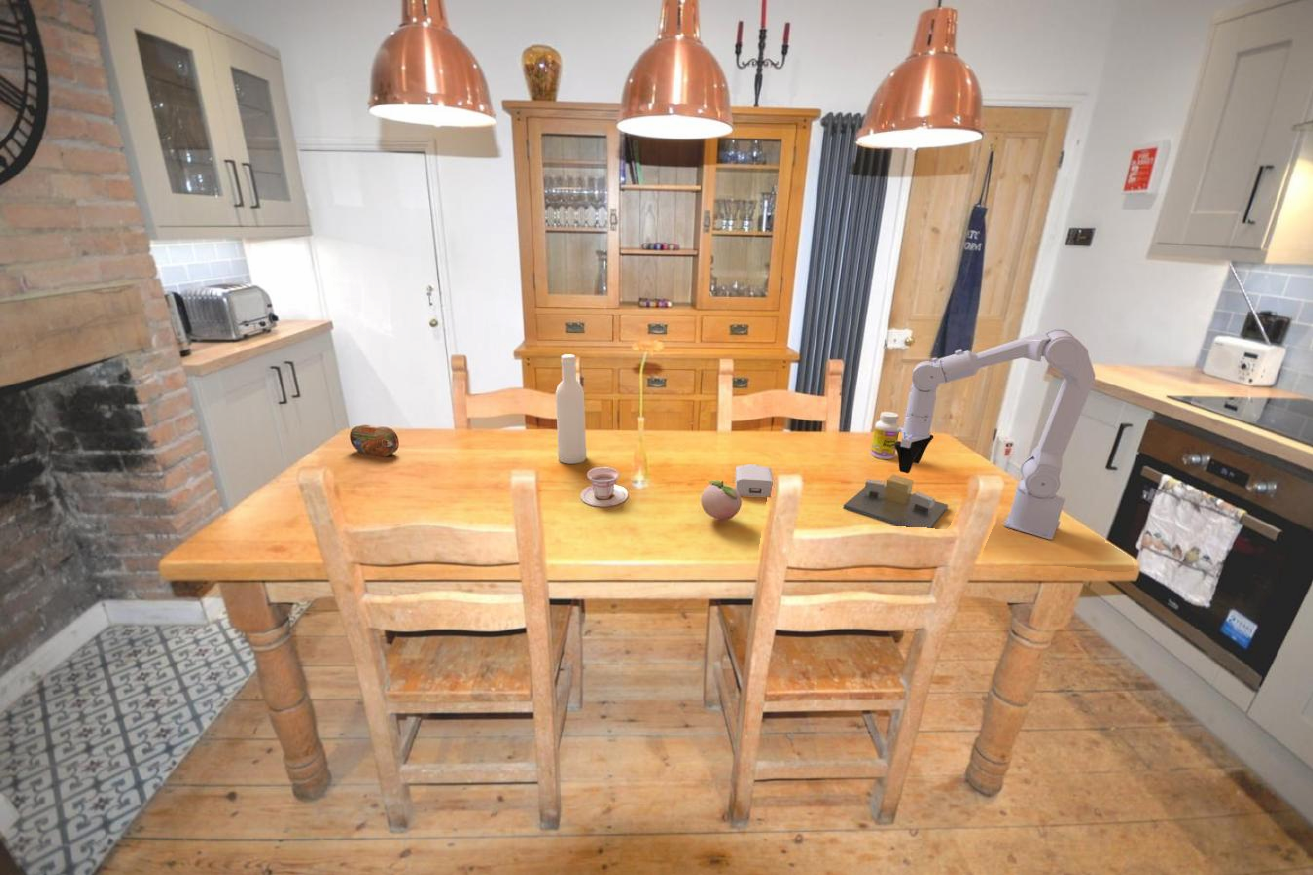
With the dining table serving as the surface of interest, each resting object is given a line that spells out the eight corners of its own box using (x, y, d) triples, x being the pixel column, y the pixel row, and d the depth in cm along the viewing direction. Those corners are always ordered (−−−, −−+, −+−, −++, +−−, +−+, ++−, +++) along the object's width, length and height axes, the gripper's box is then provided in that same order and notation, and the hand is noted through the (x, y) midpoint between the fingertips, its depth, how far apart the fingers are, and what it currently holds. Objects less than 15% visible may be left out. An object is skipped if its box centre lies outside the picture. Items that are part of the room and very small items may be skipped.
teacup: (575, 489, 145) (574, 467, 142) (620, 483, 148) (620, 461, 146) (586, 511, 134) (585, 487, 132) (634, 503, 138) (634, 480, 136)
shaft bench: (947, 508, 137) (951, 492, 136) (926, 535, 125) (929, 518, 124) (869, 485, 149) (872, 470, 147) (843, 508, 137) (845, 492, 135)
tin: (351, 452, 165) (346, 424, 162) (360, 448, 168) (355, 421, 165) (395, 458, 161) (390, 430, 158) (402, 454, 164) (398, 427, 161)
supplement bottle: (879, 460, 164) (886, 418, 160) (865, 452, 170) (872, 411, 166) (899, 458, 166) (906, 417, 162) (885, 450, 172) (892, 410, 167)
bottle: (581, 465, 158) (578, 359, 148) (554, 463, 160) (549, 358, 149) (589, 454, 166) (586, 353, 155) (563, 452, 167) (558, 351, 156)
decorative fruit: (691, 519, 130) (693, 480, 127) (714, 508, 136) (717, 470, 132) (723, 535, 124) (726, 494, 121) (746, 522, 130) (749, 482, 126)
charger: (768, 473, 156) (773, 498, 142) (734, 471, 156) (736, 496, 142) (769, 457, 154) (774, 481, 140) (735, 455, 155) (737, 479, 141)
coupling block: (910, 498, 140) (913, 480, 138) (904, 504, 137) (908, 485, 135) (889, 492, 143) (892, 474, 141) (883, 498, 140) (887, 479, 138)
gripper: (911, 403, 140) (902, 454, 145) (891, 417, 129) (882, 471, 134) (942, 409, 136) (931, 461, 140) (923, 424, 125) (913, 480, 130)
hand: (909, 467), depth 137 cm, fingers open, 7 cm apart
